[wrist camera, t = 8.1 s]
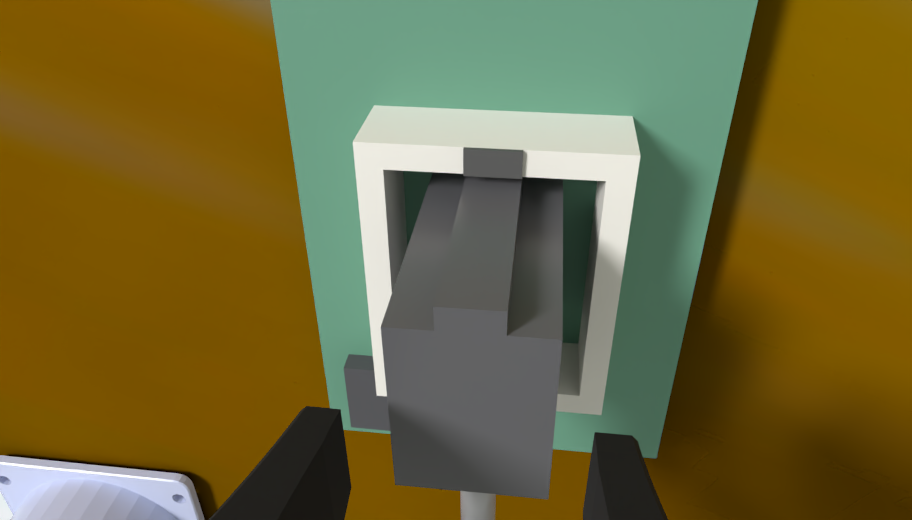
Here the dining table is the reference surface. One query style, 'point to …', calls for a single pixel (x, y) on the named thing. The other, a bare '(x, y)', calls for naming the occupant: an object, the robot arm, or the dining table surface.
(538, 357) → the plug
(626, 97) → the board
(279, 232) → the dining table surface
